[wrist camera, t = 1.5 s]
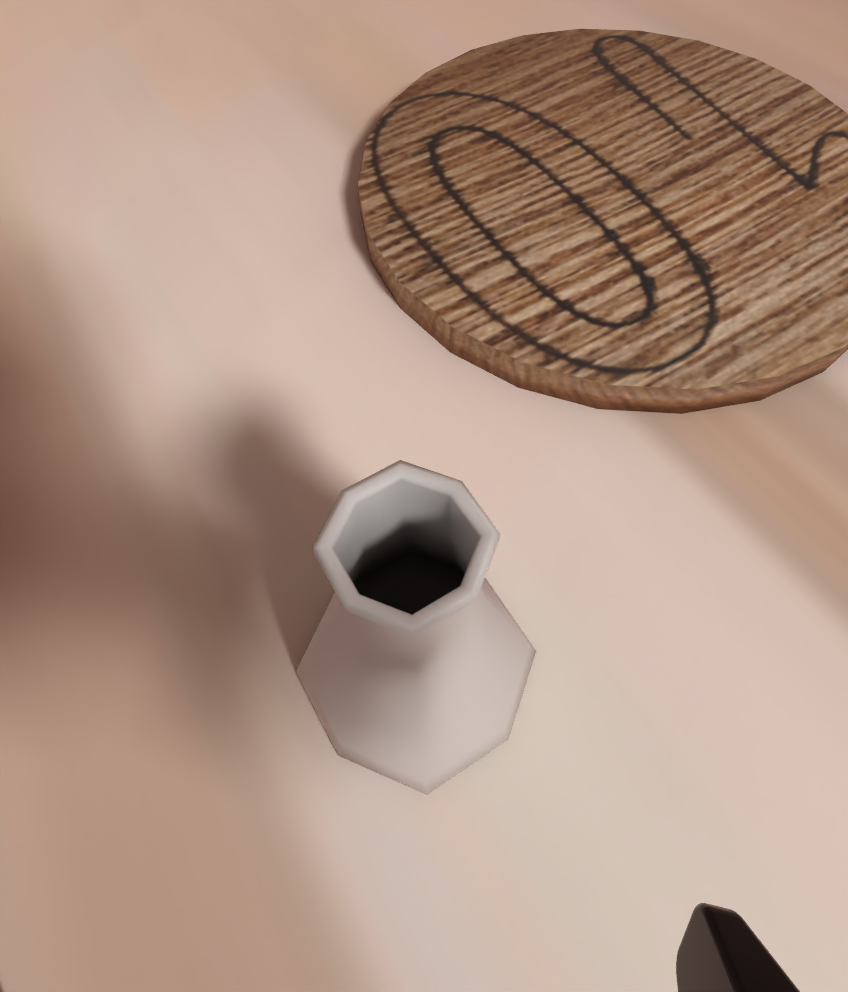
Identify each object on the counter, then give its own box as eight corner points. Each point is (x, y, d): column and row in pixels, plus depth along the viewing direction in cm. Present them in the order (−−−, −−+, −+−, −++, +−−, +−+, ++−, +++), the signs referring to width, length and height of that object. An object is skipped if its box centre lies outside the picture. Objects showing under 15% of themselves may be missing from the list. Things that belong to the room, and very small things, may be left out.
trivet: (633, 21, 38) (642, -16, 37) (1001, 257, 29) (1037, 222, 27) (273, 164, 32) (264, 129, 30) (585, 529, 22) (597, 506, 21)
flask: (430, 844, 18) (431, 873, 9) (257, 677, 20) (117, 563, 11) (573, 650, 20) (687, 518, 11) (405, 520, 22) (389, 324, 13)
